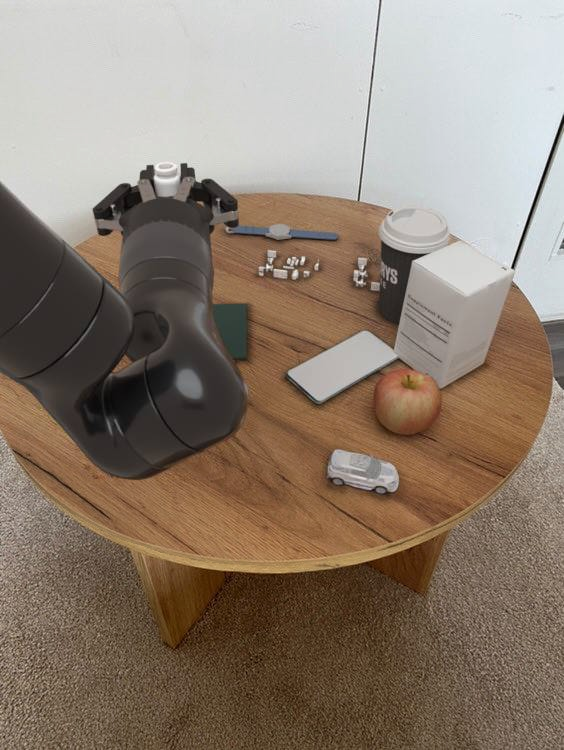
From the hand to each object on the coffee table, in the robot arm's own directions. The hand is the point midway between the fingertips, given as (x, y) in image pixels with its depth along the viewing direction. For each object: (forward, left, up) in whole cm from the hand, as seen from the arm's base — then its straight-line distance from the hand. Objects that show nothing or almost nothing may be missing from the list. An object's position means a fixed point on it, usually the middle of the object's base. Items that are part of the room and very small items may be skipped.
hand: (168, 173), depth 60 cm
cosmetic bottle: (0, -3, -20) cm, 20 cm away
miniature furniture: (+22, +20, -27) cm, 40 cm away
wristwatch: (+13, +32, -27) cm, 44 cm away
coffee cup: (+30, +10, -27) cm, 42 cm away
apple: (+26, -12, -27) cm, 39 cm away
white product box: (+33, -1, -27) cm, 42 cm away
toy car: (+20, -20, -27) cm, 39 cm away
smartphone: (+20, -2, -27) cm, 34 cm away
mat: (0, +6, -27) cm, 27 cm away
